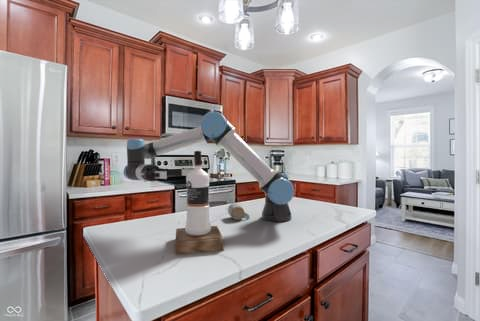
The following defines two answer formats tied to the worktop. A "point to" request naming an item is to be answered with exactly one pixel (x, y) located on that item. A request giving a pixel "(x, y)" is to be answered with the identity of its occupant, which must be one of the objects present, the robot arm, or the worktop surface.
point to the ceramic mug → (237, 211)
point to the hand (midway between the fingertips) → (180, 173)
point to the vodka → (197, 200)
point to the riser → (198, 242)
